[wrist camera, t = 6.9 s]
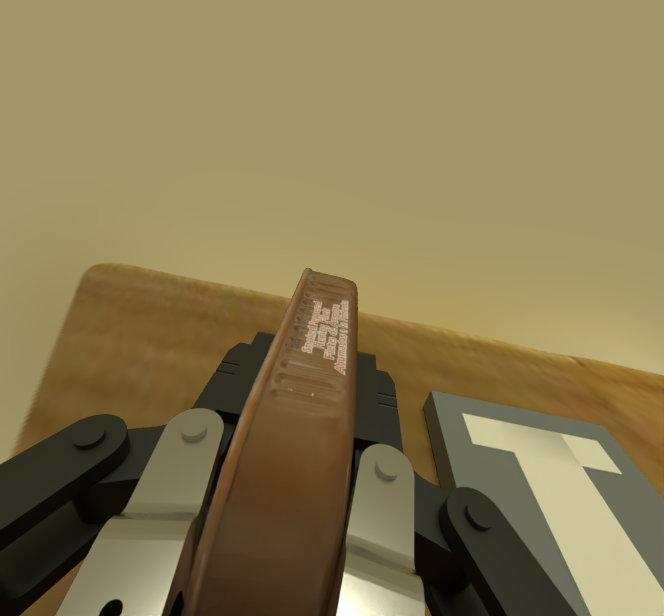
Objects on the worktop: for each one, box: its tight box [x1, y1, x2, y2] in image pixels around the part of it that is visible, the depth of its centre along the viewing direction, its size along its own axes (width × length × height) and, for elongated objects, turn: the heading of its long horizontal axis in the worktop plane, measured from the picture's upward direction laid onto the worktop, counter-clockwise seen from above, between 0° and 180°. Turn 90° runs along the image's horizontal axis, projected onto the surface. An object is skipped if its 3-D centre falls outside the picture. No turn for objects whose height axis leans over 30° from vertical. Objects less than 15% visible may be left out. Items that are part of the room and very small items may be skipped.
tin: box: [181, 268, 358, 616], centre depth 12 cm, size 15×3×8 cm, turn 175°
